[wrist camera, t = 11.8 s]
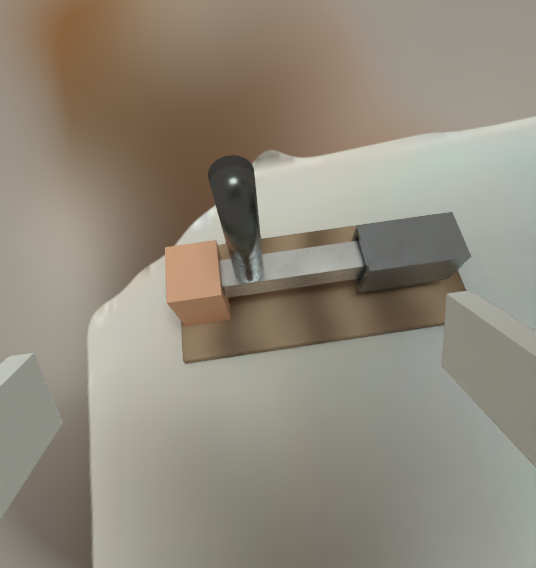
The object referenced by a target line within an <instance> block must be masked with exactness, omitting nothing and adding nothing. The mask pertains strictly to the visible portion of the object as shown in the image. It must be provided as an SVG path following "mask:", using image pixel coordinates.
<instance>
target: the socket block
mask: <svg viewBox="0 0 536 568" xmlns="http://www.w3.org/2000/svg"><path fill="white" fill-rule="evenodd" d="M165 260H166V293H167V304H168V305H169V306H170V307H171V309H172V310H173V311H174V312H175V314H176V315H177V316H178V317H179V318H180V320H181V321H182V322H183V323H184V324H185V326H192V325H198V324H205V323H212V322H219V321H225V320H231V312H230V302H229V298H225V296H224V293H223V291H222V285H221V274H220V264H219V260H222V257H221V254H220V251H219V248H218V245H217V242H216V240H215V241H207V242H200V243H193V244H186V245H179V246H172V247H165Z"/></svg>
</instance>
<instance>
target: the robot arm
mask: <svg viewBox="0 0 536 568" xmlns="http://www.w3.org/2000/svg"><path fill="white" fill-rule="evenodd" d="M442 367H443V368H444V369H445V370H446V371H447V372H448V373H449V375H450V376H451V377H452V378H453V379H454V380H455V381H456V382H457V383H458V384H459V385H460V386H461V387H462V389H463V390H464V391H465V392H466V393H467V394H468V395H469V396H470V397H471V398H472V399H473V400H474V402H475V403H476V404H477V405H478V406H479V407H480V408H481V409H482V410H483V411H484V412H485V413H486V414H487V416H488V417H489V418H490V419H491V420H492V421H493V422H494V423H495V424H496V425H497V426H498V427H499V428H500V430H501V431H502V432H503V433H504V434H505V435H506V436H507V437H508V438H509V439H510V440H511V441H512V442H513V444H514V445H515V446H516V447H517V448H518V449H519V450H520V451H521V452H522V453H523V454H524V455H525V457H526V458H527V459H528V460H529V461H530V462H531V463H532V464H533V465H534V466H535V467H536V331H535V330H533V329H532V328H530V327H528V326H527V325H525V324H524V323H522V322H520V321H519V320H517V319H515V318H514V317H512V316H511V315H509V314H507V313H506V312H504V311H502V310H501V309H499V308H498V307H496V306H494V305H493V304H491V303H489V302H488V301H486V300H485V299H483V298H481V297H480V296H478V295H477V294H475V293H473V292H472V291H470V290H469V291H462V292H455V293H448V294H446V309H445V325H444V340H443V356H442ZM62 423H63V421H62V419H61V417H60V414H59V412H58V409H57V407H56V405H55V402H54V400H53V398H52V395H51V393H50V390H49V388H48V386H47V384H46V381H45V378H44V376H43V374H42V371H41V369H40V367H39V364H38V362H37V359H36V357H35V354H34V353H30V354H23V355H16V356H9V357H8V358H7V359H6V360H5V361H4V362H2V363H1V364H0V519H1V518H2V516H3V514H4V513H5V511H6V510H7V508H8V507H9V505H10V504H11V502H12V500H13V499H14V498H15V496H16V494H17V493H18V491H19V490H20V488H21V486H22V485H23V484H24V482H25V481H26V479H27V477H28V476H29V474H30V473H31V471H32V470H33V468H34V467H35V465H36V463H37V462H38V460H39V459H40V457H41V456H42V454H43V452H44V451H45V450H46V448H47V446H48V445H49V443H50V442H51V440H52V438H53V437H54V436H55V434H56V433H57V431H58V429H59V428H60V426H61V425H62Z"/></svg>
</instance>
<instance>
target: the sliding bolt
mask: <svg viewBox="0 0 536 568" xmlns="http://www.w3.org/2000/svg"><path fill="white" fill-rule="evenodd" d="M208 178H209V182H210V186H211V189H212V193H213V197H214V200H215V204H216V208H217V211H218V215H219V219H220V222H221V226H222V229H223V233H224V237H225V240H226V244H227V248H228V251H229V255H230V259H225V260H219V264H220V274H221V285H222V291H223V293H224V296H225V298H230V297H237V296H243V295H250V294H257V293H264V292H271V291H278V290H284V289H291V288H298V287H305V286H312V285H319V284H326V283H332V282H339V281H346V280H353V279H360V278H362V277H363V275H364V273H365V271H366V269H367V267H366V264H365V260H364V257H363V253H362V250H361V246H360V243H359V240H358V241H351V242H344V243H337V244H330V245H323V246H316V247H309V248H302V249H295V250H288V251H281V252H274V253H267V254H262V246H261V236H260V226H259V216H258V206H257V196H256V186H255V176H254V168H253V166H252V164H251V163H250V162H249V161H248V160H247V159H245V158H243V157H240V156H225V157H222V158H220V159H218V160H217V161H215V162H214V163H213V164H212V165H211V167H210V169H209V172H208Z"/></svg>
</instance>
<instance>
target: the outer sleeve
mask: <svg viewBox="0 0 536 568" xmlns="http://www.w3.org/2000/svg"><path fill="white" fill-rule="evenodd" d="M358 240H359V243H360V246H361V250H362V253H363V257H364V260H365V264H366V267H367V269H366V271H365V273H364V275H363V277H362V278H360V279H356V283H357V286H358V290H359V292H364V291H365V292H366V293H373V292H379V291H386V290H393V289H400V288H407V287H413V286H420V285H427V284H430V283H431V282H432V281H439V280H445V279H449V278H450V277H451V276H452V275H453V274H454V273H455V272H456V271H457V270H458V269H459V268H460V267H461V266H462V265H463V264H464V263H465V262H466V261H467V260H468V259H469V258H470V257H471V255H470V253H469V250H468V248H467V246H466V243H465V241H464V239H463V236H462V234H461V232H460V229H459V227H458V225H457V222H456V220H455V218H454V215H453V213H452V212H449V213H442V214H435V215H428V216H421V217H414V218H407V219H400V220H393V221H385V222H378V223H371V224H364V225H357V226H356V229H355V232H354V235H353V238H352V240H351V241H358Z"/></svg>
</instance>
